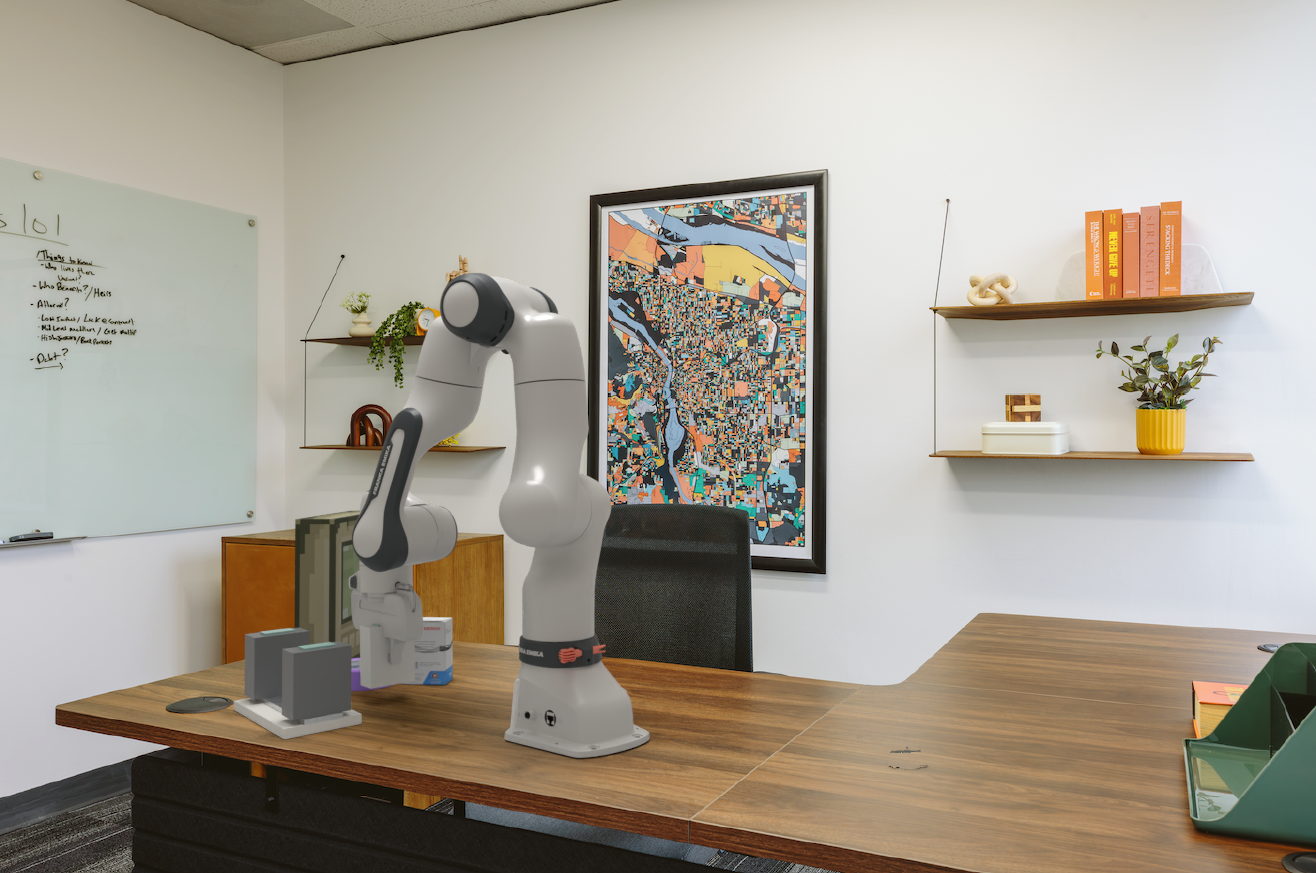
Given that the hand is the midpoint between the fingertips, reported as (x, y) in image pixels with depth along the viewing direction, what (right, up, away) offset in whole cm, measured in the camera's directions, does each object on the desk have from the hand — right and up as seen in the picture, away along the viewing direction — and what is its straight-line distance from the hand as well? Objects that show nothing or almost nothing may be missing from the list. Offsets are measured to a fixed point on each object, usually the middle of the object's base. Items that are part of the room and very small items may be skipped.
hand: (387, 661), depth 159 cm
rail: (-12, -5, -10) cm, 16 cm away
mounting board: (-12, -6, -10) cm, 17 cm away
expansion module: (0, -4, 0) cm, 4 cm away
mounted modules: (-12, -4, -10) cm, 16 cm away
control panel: (-18, -8, +31) cm, 37 cm away
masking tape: (-8, -7, +12) cm, 16 cm away
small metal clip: (+80, -6, -36) cm, 88 cm away
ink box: (+3, -7, +13) cm, 16 cm away
